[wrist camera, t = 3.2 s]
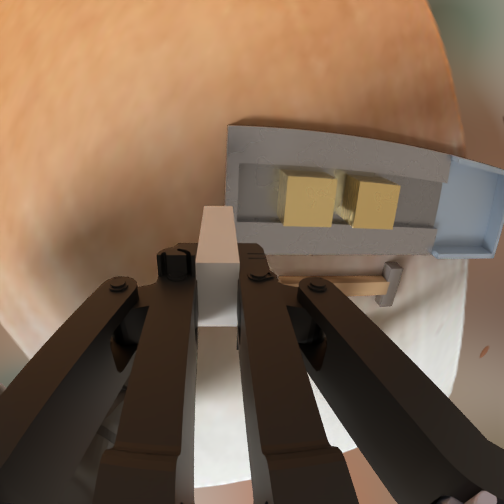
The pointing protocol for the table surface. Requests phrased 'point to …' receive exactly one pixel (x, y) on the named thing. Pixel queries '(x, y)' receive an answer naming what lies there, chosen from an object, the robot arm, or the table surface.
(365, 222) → the chip
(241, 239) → the slot board
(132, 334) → the robot arm
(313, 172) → the yellow square block
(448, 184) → the tray
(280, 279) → the hammer
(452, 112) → the table surface
